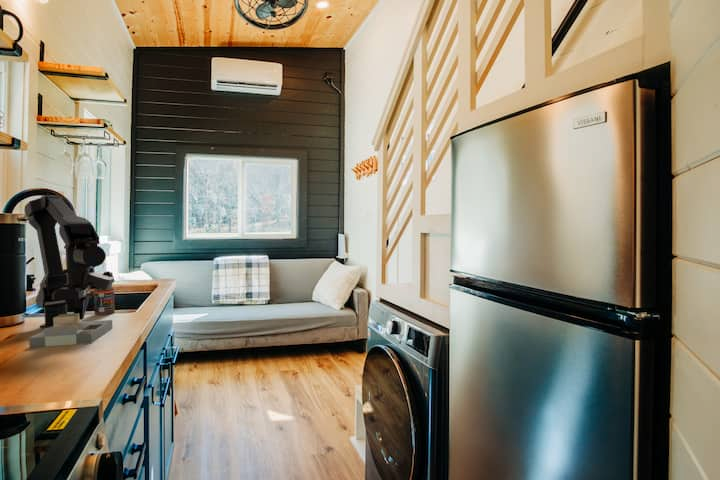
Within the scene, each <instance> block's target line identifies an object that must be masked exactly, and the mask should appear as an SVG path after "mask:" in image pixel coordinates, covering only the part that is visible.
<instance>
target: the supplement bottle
mask: <svg viewBox="0 0 720 480" xmlns="http://www.w3.org/2000/svg"><path fill="white" fill-rule="evenodd" d="M93 293H95V295H93V303H94V305H93V307H94V314H95V315H96V316H105V315H107V316H108V315H111V314H114V313H115V308H116V306H115V288H114V287H113V286H111V288H110V289H108V290H102V289H101V290H98V289H93Z"/></svg>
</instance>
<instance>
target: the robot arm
mask: <svg viewBox="0 0 720 480" xmlns="http://www.w3.org/2000/svg"><path fill="white" fill-rule="evenodd" d="M23 209H24V215H25V217H27V221H28V224H29V225H30V226H31V227H32V228H34V230H35V231H36V234H37V239H38V245H39V250H40V256H41V261H42V267H43V272H44V275H43V277H42V280H41V282H40V284H39V286H40V287H39V290H38V292H37V295H36V298H35V303H36V304H35V305H36V307H37V308H40V309H43V310H44V313H43V314H44V323H43V324H41V325H40V326H39V328H50V327H52V326H54V324H53V318H54V317H56V316H58V315H61V314H68V306H69V307H70V309H71V312H73V314H76V313H79V316H80V321H81V320H83V319H85V316H86V315H85V314H86V311H87V307H88V304H89V302H90V301H89V300H90V299H91V298H92V297H94V295H95V293H94V292H91V290H94V289H98V290H101V289H102V290H108V289H110V288H111V286H112V285H113V283H115V277H114V274H113V272H111V271H109V270H108V271H107V270H106V271H104V273H98V272H95V267H99V266H101V265H102V264H104V262H105V260H106V256H107V255H106V253H105V250H104V249H103V248H102V247H100V246H99V244H100V237H99V235H98V233H97V231H96V228H95V227H94V225H93V224H92V222H91V221H89V219H86V218H85V217H83V216H78V215H77V214H76V213H75V212H74V211H73V210H72V209H71V208H70V206H69V205H68V204H67V203H66V202H65V200H64V197H63V196H61V195H55V194H54V195H51V194H49V195H48V194H45V195H42V196H40V197H39V198H36V199H33V200H29V201H28V202H27V203H26V204H25V205H24V208H23ZM57 224H58V226H59V227H58V228H59V229H58V234H59V237H60V239H62V241H63V243H64V244H65V245H63V248H64V249H65V265H66V266H65V267H66V269H64V267H63V264H62V258H61V257H62V256H61V252H60V248H59V242H58V237H57V230H56V225H57ZM112 287H113V286H112Z"/></svg>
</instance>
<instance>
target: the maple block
mask: <svg viewBox="0 0 720 480" xmlns="http://www.w3.org/2000/svg"><path fill="white" fill-rule="evenodd" d="M80 322H81V320H80V316H79V313H76V314H74V313H67V314H61V315H58V316H56V317H54V318H53V324H54V328H58V327H74V326H77V331H78V330H80Z"/></svg>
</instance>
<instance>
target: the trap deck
mask: <svg viewBox="0 0 720 480" xmlns="http://www.w3.org/2000/svg"><path fill="white" fill-rule="evenodd" d="M112 329H113V319H108V320H107V319H106V320H90V321H89V320H87V321H80V330H78V331H77V326H74V327H58V328H54V326H52V327H45V328H44V330H43V331H41V332H38V333H36V334H34V335H32V336H30V337H29V338H28V342H29V344H28V345H29V348H30V349H31V348H42V347H43V348H46V347H55V346H56V347H57V346H69V345H70V346H71V345H72V346H73V345H85V344H93V343H95V341H97V340H98V339H100V338H101V337H102V336H103V335H105V334H107V333H108V332H110V331H111V330H112Z"/></svg>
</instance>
